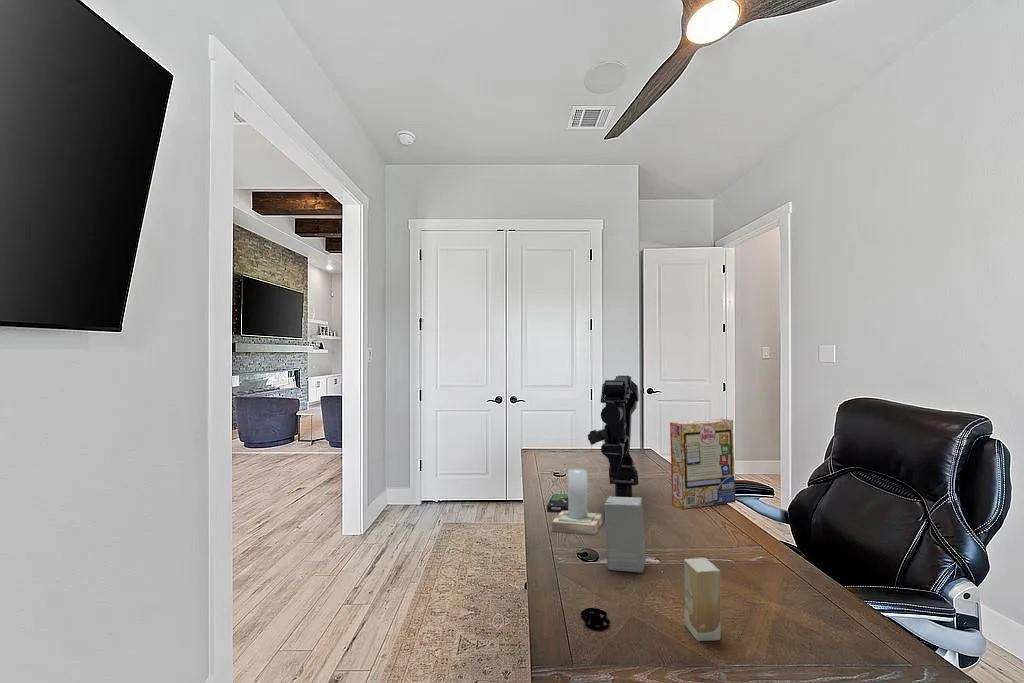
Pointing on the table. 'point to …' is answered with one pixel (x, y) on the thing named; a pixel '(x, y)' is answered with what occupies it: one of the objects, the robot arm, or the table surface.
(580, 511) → the ceramic canister
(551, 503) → the disk drive
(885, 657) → the table surface
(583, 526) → the square picture frame
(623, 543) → the skincare box
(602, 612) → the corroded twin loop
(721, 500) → the board game box
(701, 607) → the skincare box
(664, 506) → the table surface
